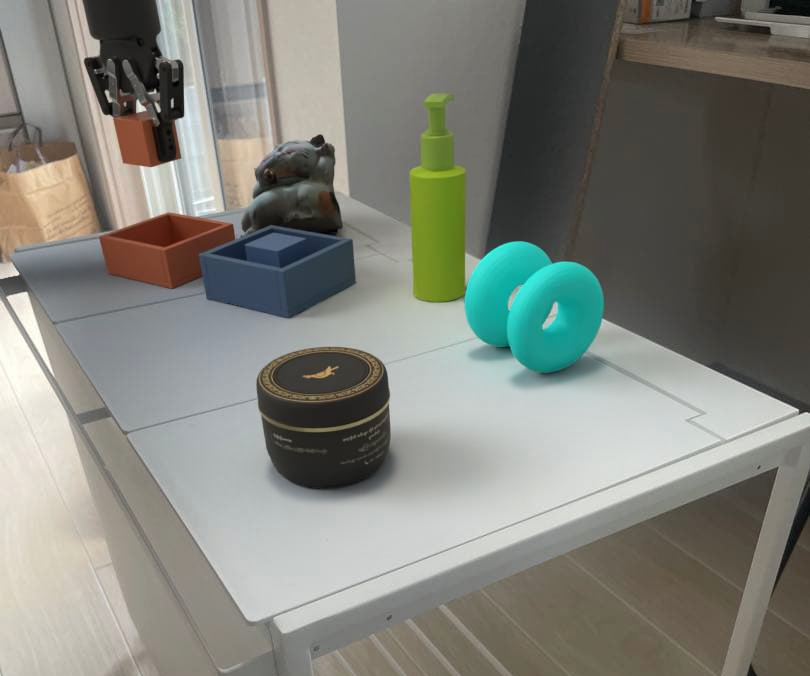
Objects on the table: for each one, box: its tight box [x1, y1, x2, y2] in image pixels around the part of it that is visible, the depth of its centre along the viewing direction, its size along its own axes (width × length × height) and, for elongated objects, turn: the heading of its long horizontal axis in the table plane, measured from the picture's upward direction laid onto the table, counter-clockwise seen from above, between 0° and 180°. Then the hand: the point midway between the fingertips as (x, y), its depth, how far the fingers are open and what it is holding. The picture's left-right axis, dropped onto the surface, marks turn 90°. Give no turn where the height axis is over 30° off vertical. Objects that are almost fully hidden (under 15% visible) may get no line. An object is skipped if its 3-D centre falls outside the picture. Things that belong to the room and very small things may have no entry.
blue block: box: [245, 233, 308, 268], centre depth 96 cm, size 5×5×5 cm
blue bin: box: [199, 225, 357, 319], centre depth 97 cm, size 12×12×5 cm
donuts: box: [464, 240, 605, 374], centre depth 78 cm, size 10×10×10 cm
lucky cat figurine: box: [240, 133, 344, 238], centre depth 112 cm, size 15×12×14 cm
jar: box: [255, 346, 392, 489], centre depth 65 cm, size 10×10×8 cm
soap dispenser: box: [409, 93, 467, 303], centre depth 90 cm, size 6×7×20 cm
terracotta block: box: [112, 110, 182, 168], centre depth 97 cm, size 5×5×5 cm
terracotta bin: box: [98, 211, 237, 289], centre depth 105 cm, size 12×12×5 cm
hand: (151, 157), depth 98 cm, fingers closed on terracotta block, 4 cm apart
